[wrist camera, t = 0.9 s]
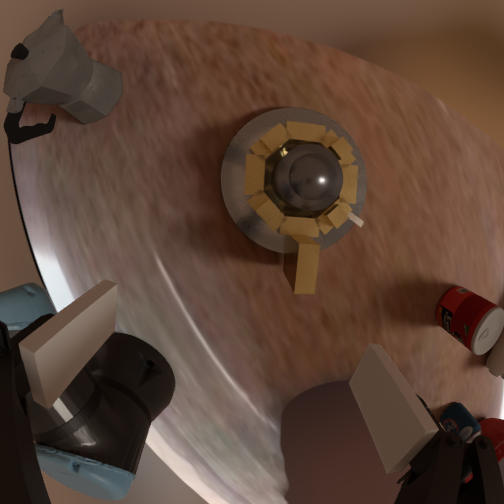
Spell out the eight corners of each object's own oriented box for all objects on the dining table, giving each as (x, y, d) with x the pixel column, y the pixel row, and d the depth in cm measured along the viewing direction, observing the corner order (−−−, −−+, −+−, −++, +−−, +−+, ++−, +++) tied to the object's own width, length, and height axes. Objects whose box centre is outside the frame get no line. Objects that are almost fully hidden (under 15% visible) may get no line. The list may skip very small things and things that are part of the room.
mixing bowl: (507, 406, 50) (529, 429, 34) (453, 464, 54) (469, 490, 39) (486, 395, 46) (515, 425, 30) (418, 465, 50) (437, 499, 35)
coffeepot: (86, 55, 27) (18, 6, 10) (138, 54, 28) (79, -16, 11) (55, 150, 30) (-36, 141, 13) (105, 157, 31) (11, 141, 14)
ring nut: (239, 268, 34) (239, 291, 26) (248, 124, 30) (249, 104, 22) (338, 272, 34) (362, 294, 26) (349, 136, 30) (377, 123, 23)
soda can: (437, 413, 44) (461, 444, 33) (459, 395, 44) (485, 424, 32) (438, 425, 46) (460, 455, 34) (460, 409, 45) (482, 436, 34)
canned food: (429, 307, 38) (469, 337, 27) (459, 275, 37) (502, 296, 26) (441, 334, 39) (477, 364, 28) (469, 304, 38) (507, 328, 27)
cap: (218, 248, 34) (210, 268, 26) (226, 105, 31) (221, 77, 22) (356, 255, 35) (387, 275, 26) (365, 121, 31) (398, 105, 23)
